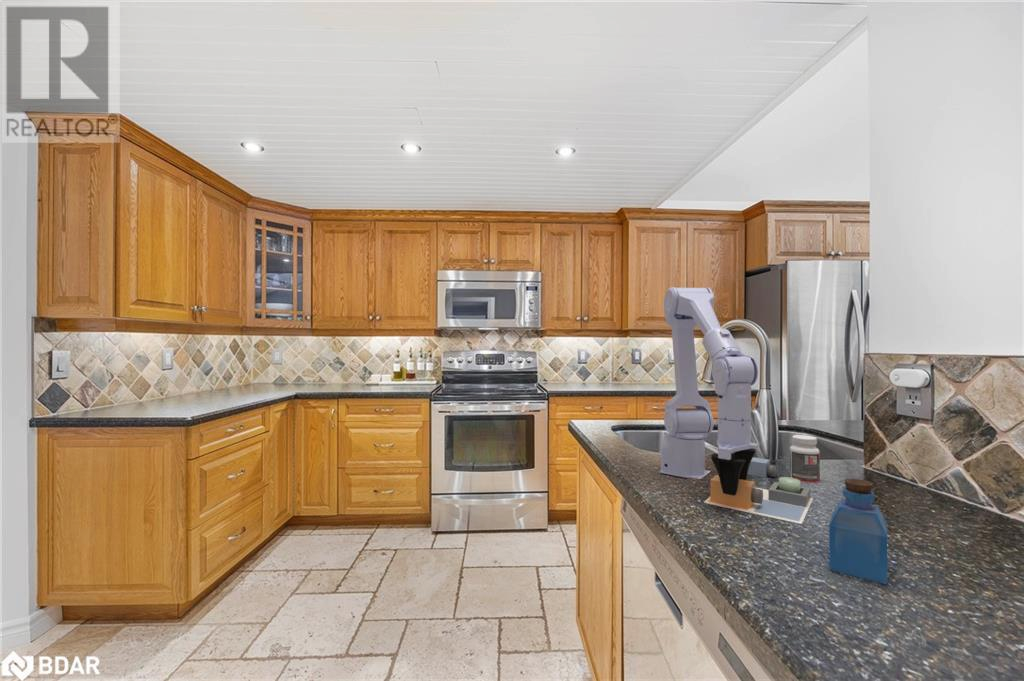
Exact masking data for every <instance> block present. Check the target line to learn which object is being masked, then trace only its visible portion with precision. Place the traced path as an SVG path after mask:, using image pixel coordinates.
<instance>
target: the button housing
mask: <svg viewBox="0 0 1024 681" xmlns="http://www.w3.org/2000/svg"><path fill="white" fill-rule="evenodd" d="M767 490H768V500H771V501H776V502H781V503H786V504H791V505H796V506H802V507H807V505H808V502H809V500H810V498H811V488H810V487H806V486H801V485H800V493H792V492H786V491H781V490H780V489H779V482H776V481H773V483H772V485H771V486H770V487H769V488H768V489H767Z"/></svg>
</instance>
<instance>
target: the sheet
mask: <svg viewBox="0 0 1024 681" xmlns="http://www.w3.org/2000/svg"><path fill="white" fill-rule="evenodd" d="M755 488H756V489H761V490H763V502H762V504H758V503H754V505H753V506H752V507H751V509H749V508H744V507H739V506H734V505H730V504H725V503H720V502H715V501H711V500H710V496H708V498H707V499H706V500H704V501H703V504H707V505H711V506H716V507H722V508H725V509H726V508H727V509H731V510H736V511H739V512H744V513H745V512H746V513H749V514H753V515H758V516H762V517H766V518H767V517H768V518H771V519H772V518H773V519H776V520H781V521H785V522H790V523H795V524H799V525H802V524H803V522H804V520H805V518H806V515H807V513H808V510H809V508H810V506H811V504H812V502H813V500H814V498H813V497H810V500H809V502H808V505H807V507H802V506H796V505H791V504H786V503H781V502H776V501H771V500H768V490H769V489H764V488H759V487H755Z"/></svg>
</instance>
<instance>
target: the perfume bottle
mask: <svg viewBox="0 0 1024 681" xmlns="http://www.w3.org/2000/svg"><path fill="white" fill-rule="evenodd" d="M844 485H845V486H844V487H843V488H842V496H843V497H845V498H841V500H840V501H839V503H838V504H837V506H836V507H835V508H834V510H833V511H832V515H831V517H830V521H829V524H828V526H829V527H828V533H829V535H828V536H829V537H828V542H829V543H828V544H829V545H828V546H829V547H828V555H829V556H828V561H829V562H828V564H829V565H828V566H829V567H828V570H829V571H833V572H838V573H841V574H845V575H848V576H853V577H856V578H858V579H859V578H860V579H864V580H868V581H871V582H874V583H878V584H883V585H886V586H887V585H888V521H887V520H886V518H885V516H884V514H883V513H882V512H881V510H880V508H879V507H878V505H877V504H873V503H872V502H874V501H875V493H874V491H873V490H872V489H873V486H874V484H873V482H870V481H868V480H864V479H858V478H845V479H844Z"/></svg>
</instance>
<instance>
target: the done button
mask: <svg viewBox="0 0 1024 681" xmlns="http://www.w3.org/2000/svg"><path fill="white" fill-rule="evenodd" d="M778 483H779V489H780V490H781V491H786V492H792V493H800V486H801V481H800V480H798V479H795V478H790V476H779V477H778Z"/></svg>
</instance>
